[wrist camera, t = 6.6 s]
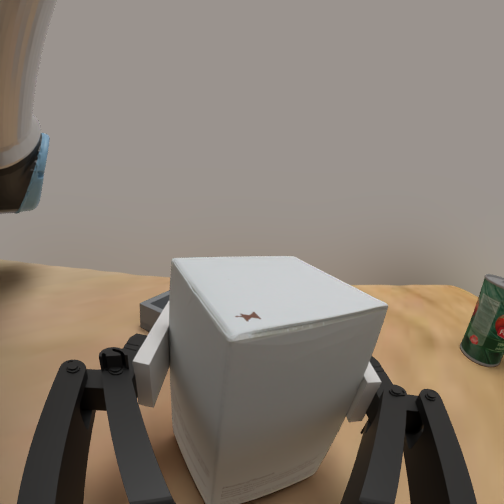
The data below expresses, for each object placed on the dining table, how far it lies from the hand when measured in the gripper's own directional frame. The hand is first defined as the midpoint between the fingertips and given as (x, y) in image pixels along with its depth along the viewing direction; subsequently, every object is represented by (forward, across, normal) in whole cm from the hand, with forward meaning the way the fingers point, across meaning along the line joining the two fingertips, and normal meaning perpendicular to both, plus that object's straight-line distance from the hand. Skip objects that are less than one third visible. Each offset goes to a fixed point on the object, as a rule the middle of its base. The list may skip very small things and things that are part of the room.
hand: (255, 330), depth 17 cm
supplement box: (-4, 0, -8) cm, 9 cm away
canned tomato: (+8, +35, -8) cm, 36 cm away
